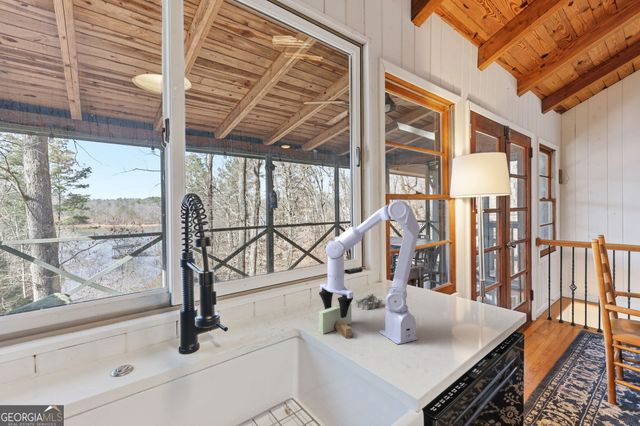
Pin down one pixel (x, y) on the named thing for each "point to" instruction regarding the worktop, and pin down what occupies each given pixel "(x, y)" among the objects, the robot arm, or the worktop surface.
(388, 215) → the robot arm
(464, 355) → the worktop surface
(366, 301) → the egg carton
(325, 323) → the long pale green beam
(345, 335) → the walnut board
